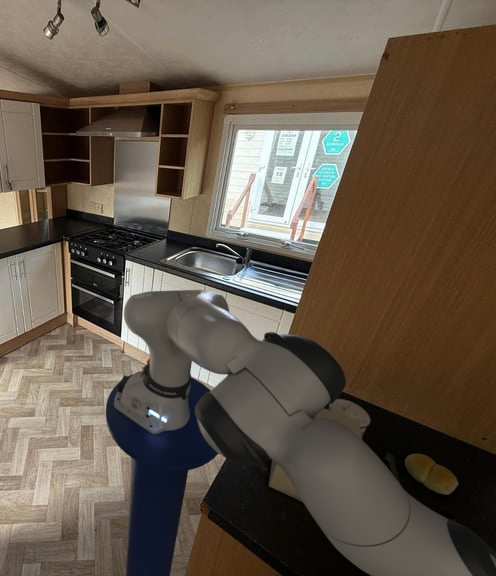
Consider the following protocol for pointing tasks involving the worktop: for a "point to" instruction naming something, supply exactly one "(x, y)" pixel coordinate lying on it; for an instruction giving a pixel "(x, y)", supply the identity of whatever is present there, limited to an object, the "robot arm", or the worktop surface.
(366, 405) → the worktop surface
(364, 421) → the enamel mug with lid
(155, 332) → the robot arm
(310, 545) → the worktop surface
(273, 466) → the cube with dark spot
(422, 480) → the bread roll
